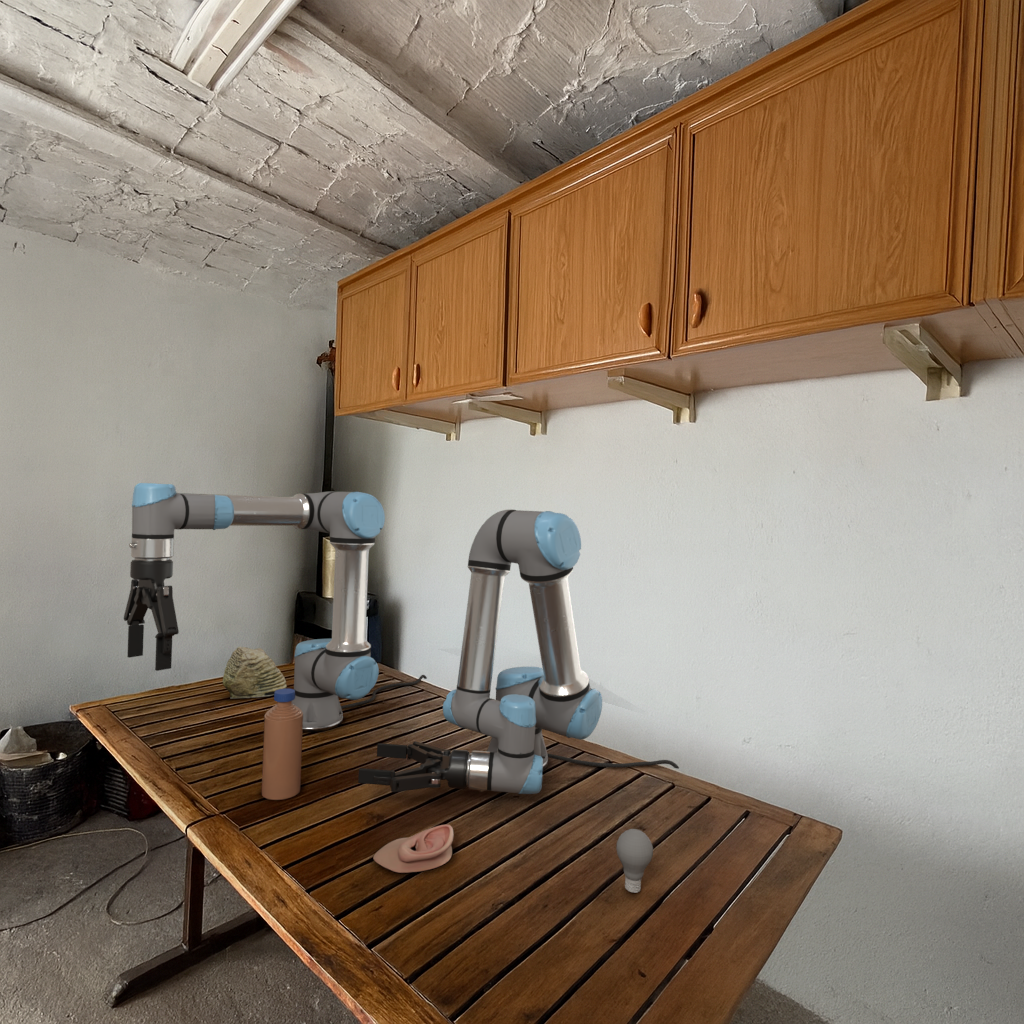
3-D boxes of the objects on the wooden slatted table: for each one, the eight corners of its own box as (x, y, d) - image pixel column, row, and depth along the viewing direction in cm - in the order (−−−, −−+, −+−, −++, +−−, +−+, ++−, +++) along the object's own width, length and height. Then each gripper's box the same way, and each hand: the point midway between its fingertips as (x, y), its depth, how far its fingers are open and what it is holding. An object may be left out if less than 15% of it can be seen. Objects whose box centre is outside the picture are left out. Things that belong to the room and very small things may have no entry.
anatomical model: (366, 844, 109) (392, 812, 120) (365, 867, 109) (391, 833, 120) (440, 856, 106) (459, 823, 117) (439, 880, 106) (458, 844, 117)
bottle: (284, 780, 141) (287, 685, 140) (308, 789, 137) (311, 692, 136) (253, 793, 134) (257, 693, 134) (277, 803, 130) (281, 701, 130)
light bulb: (610, 879, 108) (613, 822, 108) (644, 879, 109) (647, 822, 109) (619, 902, 102) (622, 840, 102) (655, 901, 103) (658, 840, 103)
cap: (286, 694, 138) (286, 687, 138) (299, 698, 136) (299, 690, 136) (269, 699, 134) (270, 691, 134) (283, 703, 132) (283, 695, 132)
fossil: (218, 695, 195) (220, 647, 195) (278, 685, 208) (279, 640, 207) (228, 703, 189) (230, 653, 188) (289, 692, 201) (290, 645, 201)
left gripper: (108, 554, 134) (104, 654, 134) (159, 565, 118) (155, 678, 119) (146, 552, 140) (143, 648, 140) (199, 563, 124) (195, 671, 124)
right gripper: (459, 816, 120) (349, 807, 121) (474, 763, 145) (383, 756, 146) (461, 777, 120) (351, 768, 121) (476, 730, 145) (385, 724, 146)
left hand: (148, 662), depth 129 cm, fingers open, 13 cm apart
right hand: (368, 762), depth 133 cm, fingers open, 13 cm apart
